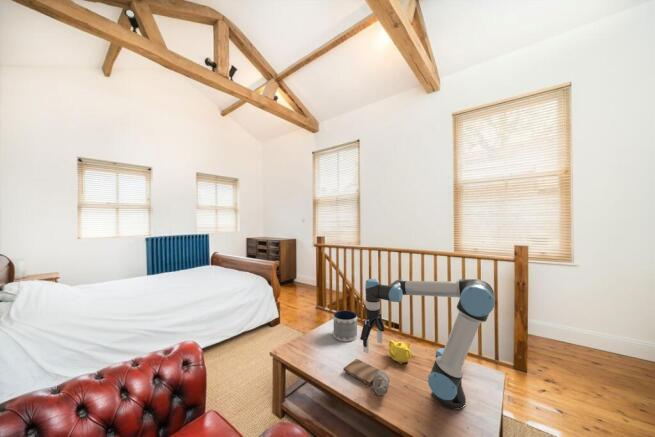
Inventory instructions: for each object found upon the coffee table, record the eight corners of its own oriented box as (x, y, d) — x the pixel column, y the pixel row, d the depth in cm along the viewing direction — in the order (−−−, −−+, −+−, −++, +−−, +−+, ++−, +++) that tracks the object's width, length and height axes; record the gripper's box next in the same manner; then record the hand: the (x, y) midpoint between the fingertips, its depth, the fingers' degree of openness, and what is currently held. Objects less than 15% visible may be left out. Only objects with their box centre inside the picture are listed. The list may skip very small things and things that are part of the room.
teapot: (399, 348, 166) (399, 332, 166) (421, 361, 151) (421, 343, 151) (378, 357, 155) (378, 340, 155) (400, 372, 140) (400, 353, 140)
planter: (350, 344, 171) (350, 321, 171) (329, 337, 181) (329, 316, 181) (361, 334, 186) (361, 313, 186) (340, 328, 196) (340, 308, 196)
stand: (382, 376, 137) (382, 371, 137) (369, 388, 127) (369, 382, 127) (356, 363, 149) (356, 358, 149) (343, 373, 139) (343, 368, 139)
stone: (368, 399, 119) (368, 379, 119) (375, 381, 132) (375, 363, 132) (386, 404, 116) (386, 384, 116) (391, 386, 129) (391, 367, 129)
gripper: (378, 300, 142) (379, 336, 141) (353, 312, 124) (353, 353, 123) (390, 303, 136) (390, 341, 136) (365, 316, 118) (365, 359, 118)
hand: (373, 347), depth 130 cm, fingers open, 13 cm apart
